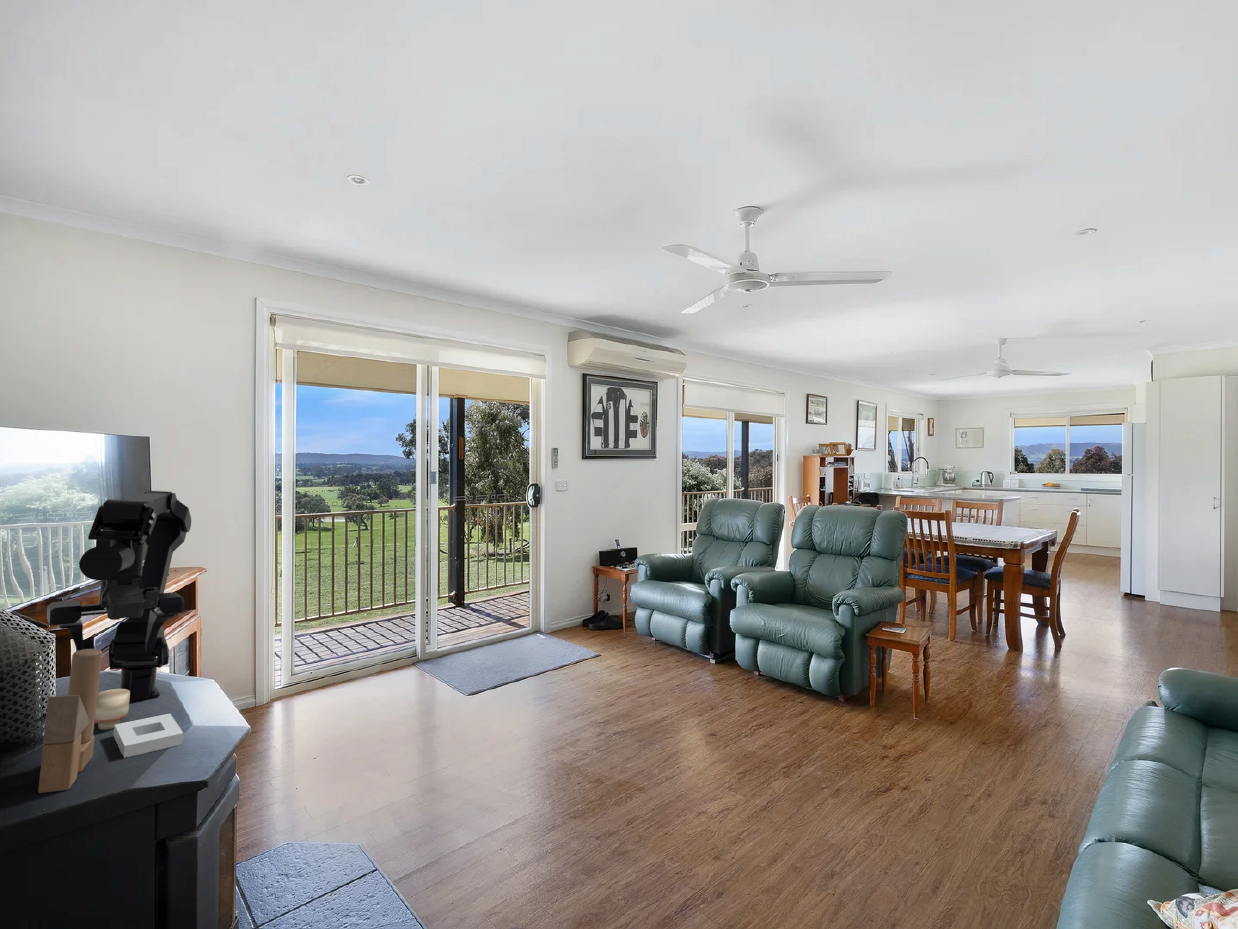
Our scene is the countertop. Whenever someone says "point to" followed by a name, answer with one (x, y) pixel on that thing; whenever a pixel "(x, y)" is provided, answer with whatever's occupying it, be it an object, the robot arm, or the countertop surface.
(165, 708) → the countertop surface
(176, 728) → the board
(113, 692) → the peg
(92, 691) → the wooden block
